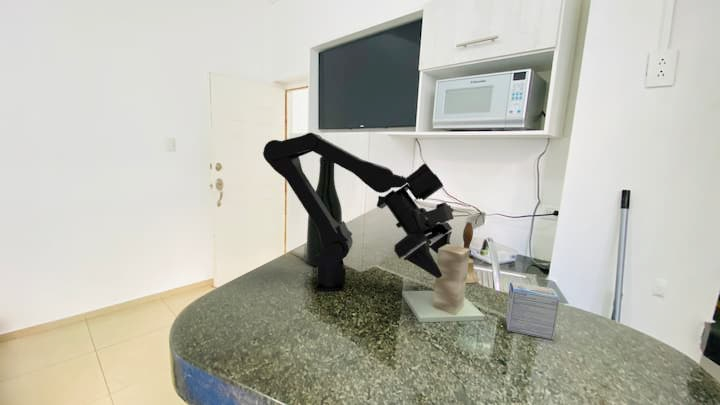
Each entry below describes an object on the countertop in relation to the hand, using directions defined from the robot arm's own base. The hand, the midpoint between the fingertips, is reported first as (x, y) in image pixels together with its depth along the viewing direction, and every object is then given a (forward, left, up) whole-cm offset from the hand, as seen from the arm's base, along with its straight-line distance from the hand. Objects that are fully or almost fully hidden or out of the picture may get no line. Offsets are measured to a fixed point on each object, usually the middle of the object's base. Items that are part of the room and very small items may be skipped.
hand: (448, 271), depth 63 cm
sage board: (0, +2, -9) cm, 9 cm away
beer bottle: (-25, +31, -9) cm, 41 cm away
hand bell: (+14, +18, -9) cm, 24 cm away
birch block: (+1, 0, -8) cm, 8 cm away
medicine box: (+14, -8, -9) cm, 18 cm away
